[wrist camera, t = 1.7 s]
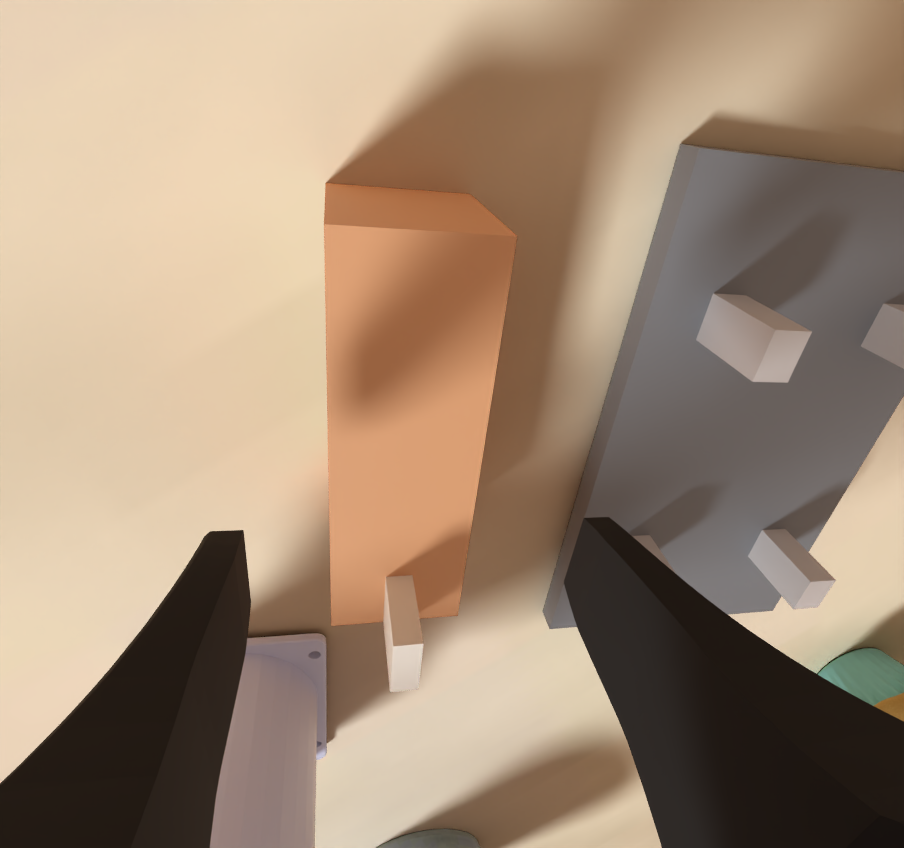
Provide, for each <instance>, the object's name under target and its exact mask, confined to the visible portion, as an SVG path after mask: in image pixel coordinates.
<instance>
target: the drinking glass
mask: <svg viewBox="0 0 904 848" xmlns="http://www.w3.org/2000/svg"><path fill="white" fill-rule="evenodd" d="M377 848H480V846H479V843H478V841H477V839H476V838H475V837H474V836H472V835H471V834H469V833H467V832H463V831H460V830H453V829H434V830H426V831H420V832H415V833H411V834H408V835H404V836H401V837H398V838H396V839H393V840H391V841H388V842H386V843H384V844H382V845H380V846H379V847H377Z"/></svg>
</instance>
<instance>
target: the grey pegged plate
mask: <svg viewBox="0 0 904 848" xmlns="http://www.w3.org/2000/svg"><path fill="white" fill-rule="evenodd" d="M903 396H904V171H897V170H889V169H881V168H873V167H865V166H857V165H849V164H841V163H833V162H824V161H816V160H808V159H800V158H792V157H784V156H776V155H768V154H760V153H751V152H743V151H735V150H727V149H719V148H711V147H703V146H695V145H687V144H680V148H679V151H678V154H677V158H676V161H675V165H674V168H673V171H672V175H671V178H670V182H669V185H668V188H667V192H666V195H665V199H664V202H663V205H662V209H661V212H660V216H659V219H658V222H657V226H656V229H655V232H654V236H653V239H652V243H651V246H650V249H649V253H648V256H647V260H646V263H645V266H644V270H643V273H642V277H641V280H640V283H639V287H638V290H637V293H636V297H635V300H634V304H633V307H632V310H631V314H630V317H629V321H628V324H627V327H626V331H625V334H624V338H623V341H622V344H621V348H620V351H619V355H618V358H617V361H616V365H615V368H614V371H613V375H612V378H611V382H610V385H609V388H608V392H607V395H606V399H605V402H604V405H603V409H602V412H601V416H600V419H599V422H598V426H597V429H596V432H595V436H594V439H593V443H592V446H591V449H590V453H589V456H588V460H587V463H586V466H585V470H584V473H583V477H582V480H581V483H580V487H579V490H578V494H577V497H576V500H575V504H574V507H573V510H572V514H571V517H570V521H569V524H568V527H567V531H566V534H565V538H564V541H563V544H562V548H561V551H560V555H559V558H558V561H557V565H556V568H555V571H554V575H553V578H552V582H551V585H550V588H549V592H548V595H547V599H546V602H545V605H544V609H543V613H544V616H545V619H546V621H547V624H548V626H549V629H556V628H568V627H577V625H576V622H575V619H574V616H573V613H572V610H571V606H570V603H569V599H568V596H567V592H566V589H565V585H564V579H565V576H566V573H567V570H568V567H569V563H570V560H571V557H572V554H573V551H574V547H575V544H576V541H577V538H578V535H579V531H580V528H581V525H582V522H583V519H584V518H592V517H610V518H611V519H612V520H613V521H615V522H616V523H617V524H618V525H620V526H621V527H622V528H623V529H624V530H626V531H627V532H628V533H629V534H630V535H631V536H633V537H634V538H635V539H636V540H637V541H638V542H639V543H641V544H642V545H643V546H644V547H645V548H646V549H648V550H649V551H650V552H651V553H652V554H653V555H655V556H656V557H657V558H658V559H659V560H660V561H661V562H663V563H664V564H665V565H666V566H667V567H669V568H670V569H671V570H672V571H673V572H674V573H676V574H677V575H678V576H679V577H680V578H682V579H683V580H684V581H685V582H686V583H688V584H689V585H690V586H691V587H693V588H694V589H695V590H696V591H698V592H699V593H700V594H701V595H703V596H704V597H705V598H706V599H708V600H709V601H710V602H711V603H713V604H714V605H715V606H717V607H718V608H719V609H721V610H722V611H723V612H725V613H726V614H738V613H750V612H762V611H773V609H774V608H775V606H776V604H777V603H778V601H779V599H780V598H781V596H782V597H783V598H784V599H785V600H786V601H787V603H788V604H789V605H790V606H791V607H792V608H793V609H803V608H815V607H818V606H819V605H820V603H821V602H822V600H823V599H824V597H825V596H826V594H827V593H828V591H829V590H830V588H831V587H832V585H833V584H834V582H835V581H836V580H835V579H834V578H833V577H832V576H831V575H830V574H829V573H828V572H827V571H826V570H825V569H824V568H823V567H822V566H821V565H820V564H819V563H818V562H817V561H816V560H815V559H814V558H813V557H812V556H811V555H810V554H809V553H808V552H809V550H810V549H811V547H812V545H813V544H814V542H815V540H816V539H817V537H818V535H819V534H820V532H821V531H822V529H823V527H824V526H825V524H826V522H827V521H828V519H829V517H830V516H831V514H832V512H833V511H834V509H835V508H836V506H837V504H838V503H839V501H840V499H841V498H842V496H843V494H844V493H845V491H846V489H847V488H848V486H849V485H850V483H851V481H852V480H853V478H854V476H855V475H856V473H857V471H858V470H859V468H860V467H861V465H862V463H863V462H864V460H865V458H866V457H867V455H868V453H869V452H870V450H871V448H872V447H873V445H874V444H875V442H876V440H877V439H878V437H879V435H880V434H881V432H882V430H883V429H884V427H885V426H886V424H887V422H888V421H889V419H890V417H891V416H892V414H893V412H894V411H895V409H896V407H897V406H898V404H899V403H900V401H901V399H902V398H903Z"/></svg>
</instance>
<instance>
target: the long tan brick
mask: <svg viewBox="0 0 904 848" xmlns="http://www.w3.org/2000/svg"><path fill="white" fill-rule="evenodd" d="M516 242H517V235H515V234H514V233H513V232H512V231H511V230H510V229H509V228H508V227H507V226H505V225H504V224H503V223H502V222H501V221H500V220H499V219H498V218H496V217H495V216H494V215H493V214H492V213H491V212H490V211H489V210H488V209H486V208H485V207H484V206H483V205H482V204H481V203H480V202H479V201H477V200H476V199H475V198H474V197H473V196H472V195H471V194H463V193H450V192H437V191H424V190H411V189H398V188H385V187H372V186H359V185H346V184H333V183H326V188H325V213H324V248H325V304H326V360H327V416H328V472H329V528H330V584H331V626H339V625H351V624H363V623H375V622H383V624H384V635H385V645H386V656H387V666H388V677H389V687H390V692H399V691H408V690H417V689H419V680H420V671H421V662H422V654H423V645H424V643H423V636H422V630H421V624H420V619H422V618H434V617H446V616H458V610H459V604H460V597H461V591H462V585H463V578H464V572H465V566H466V559H467V553H468V547H469V540H470V534H471V528H472V521H473V515H474V508H475V502H476V496H477V489H478V483H479V477H480V470H481V464H482V458H483V451H484V445H485V439H486V432H487V426H488V420H489V413H490V407H491V401H492V394H493V388H494V381H495V375H496V369H497V362H498V356H499V350H500V343H501V337H502V331H503V324H504V318H505V312H506V305H507V299H508V293H509V286H510V280H511V274H512V267H513V261H514V255H515V248H516Z"/></svg>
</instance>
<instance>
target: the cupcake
mask: <svg viewBox="0 0 904 848" xmlns="http://www.w3.org/2000/svg"><path fill="white" fill-rule="evenodd" d="M818 675H819V676H821V677H823V678H824V679H826V680H828V681H829V682H831V683H833V684H834V685H836V686H838V687H840V688H841V689H843V690H845V691H847V692H849V693H850V694H852V695H854V696H856V697H858V698H860V699H861V700H863V701H865V702H867V703H869V704H871V705H873V706H875V707H877V708H878V709H880V710H882V711H884V712H886V713H888V714H890V715H892V716H894V717H896V718H898V719H900V720H902V721H904V665H902V664H901V663H899V662H898V661H896V660H894V659H893V658H891V657H890V656H888V655H887V654H885V653H884V652H883V651H881V650H879V649H875V648H864V649H859V650H855V651H852V652H849V653H847V654H844V655H842V656H840V657H839V658H837V659H835V660H834V661H832V662H831V663H829V664H828V665H827V666H825V667H824V668H823V669H822V670H821V671H820V672H819V673H818Z"/></svg>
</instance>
